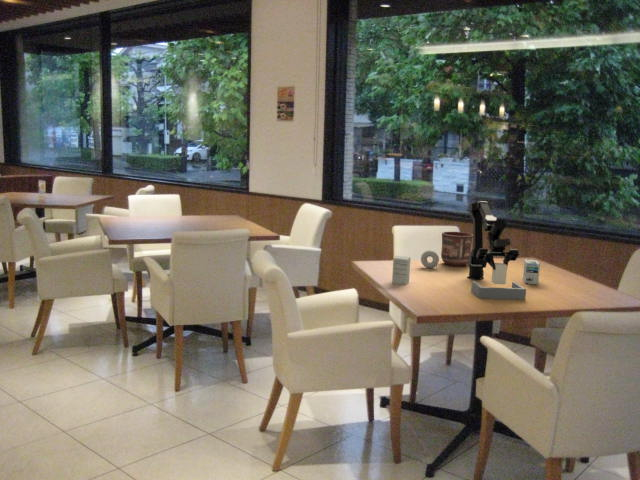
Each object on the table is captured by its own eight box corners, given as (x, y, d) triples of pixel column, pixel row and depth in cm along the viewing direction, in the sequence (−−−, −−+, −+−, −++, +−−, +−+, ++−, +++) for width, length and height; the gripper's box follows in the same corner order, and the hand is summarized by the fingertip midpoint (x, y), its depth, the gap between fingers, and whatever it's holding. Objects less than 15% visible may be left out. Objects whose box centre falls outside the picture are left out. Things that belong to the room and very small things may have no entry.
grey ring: (438, 268, 349) (440, 250, 347) (437, 269, 345) (439, 251, 344) (420, 266, 352) (422, 249, 350) (419, 267, 349) (420, 250, 347)
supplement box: (394, 280, 316) (396, 255, 314) (409, 281, 313) (411, 256, 311) (391, 283, 309) (393, 257, 307) (406, 284, 306) (408, 259, 304)
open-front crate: (471, 291, 299) (471, 280, 298) (514, 292, 300) (515, 282, 299) (479, 298, 285) (480, 287, 284) (525, 299, 286) (526, 289, 285)
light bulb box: (538, 284, 318) (540, 263, 316) (524, 283, 319) (526, 262, 318) (535, 280, 328) (537, 260, 327) (522, 279, 330) (524, 259, 328)
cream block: (491, 281, 294) (493, 262, 293) (501, 281, 294) (503, 263, 293) (494, 284, 289) (496, 265, 288) (505, 284, 289) (507, 265, 288)
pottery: (465, 269, 350) (467, 237, 347) (435, 264, 359) (437, 233, 356) (475, 264, 365) (478, 234, 362) (446, 260, 374) (448, 230, 371)
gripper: (480, 231, 291) (485, 259, 282) (519, 232, 292) (526, 260, 283) (473, 245, 300) (478, 272, 291) (512, 246, 301) (518, 273, 292)
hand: (500, 269), depth 289 cm, fingers closed on cream block, 5 cm apart
